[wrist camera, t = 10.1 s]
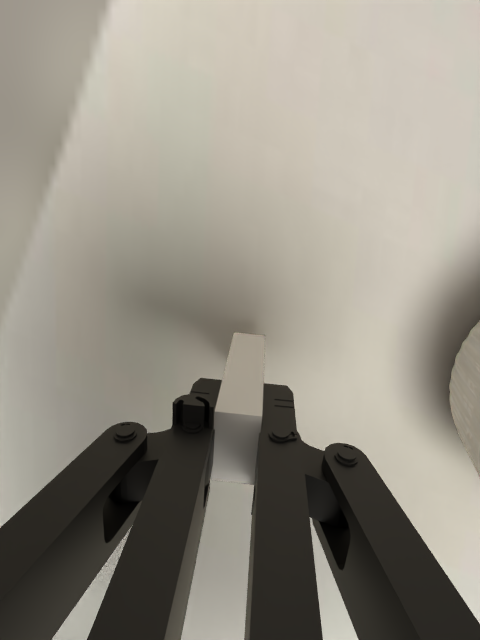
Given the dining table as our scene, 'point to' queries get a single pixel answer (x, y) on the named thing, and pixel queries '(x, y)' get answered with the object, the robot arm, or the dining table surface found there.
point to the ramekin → (467, 395)
